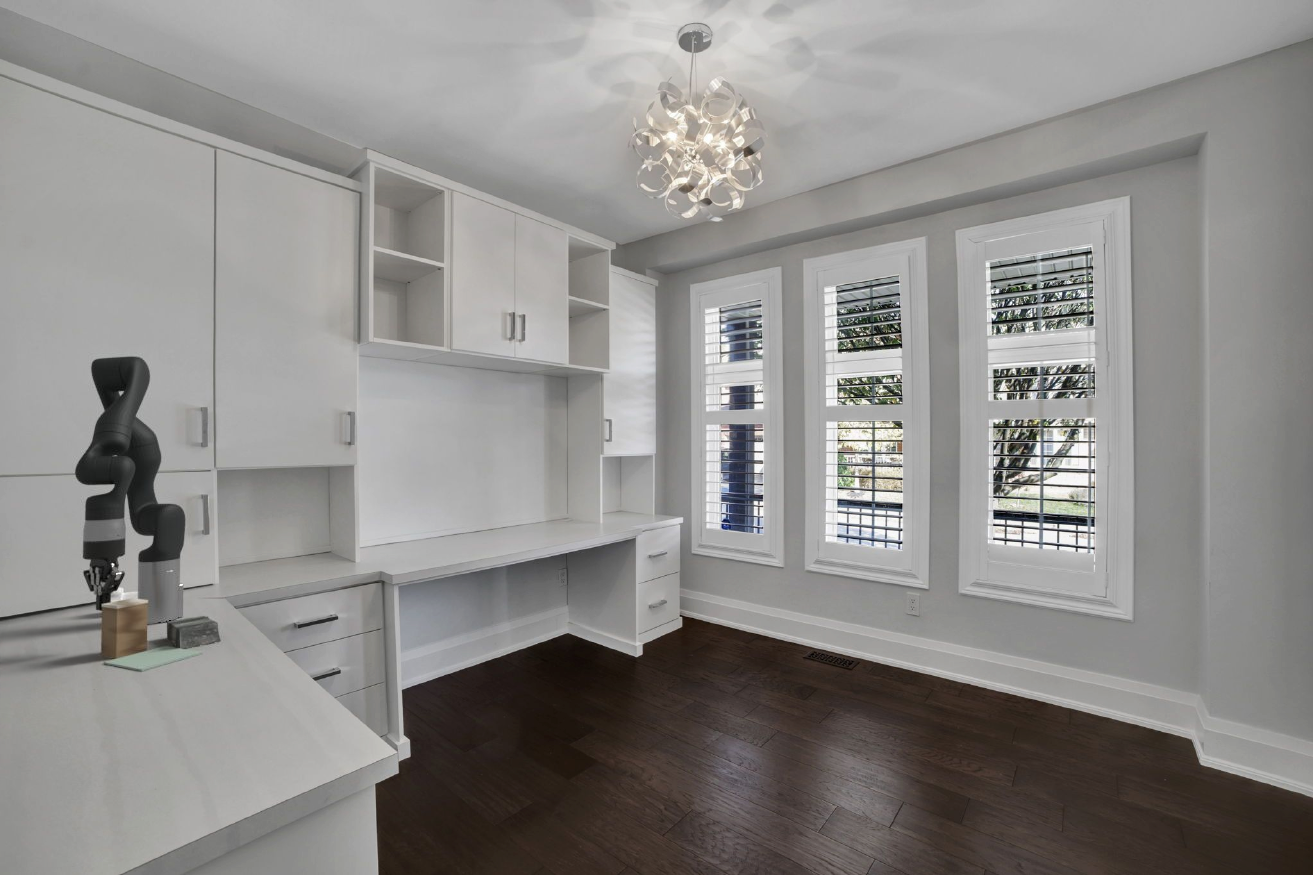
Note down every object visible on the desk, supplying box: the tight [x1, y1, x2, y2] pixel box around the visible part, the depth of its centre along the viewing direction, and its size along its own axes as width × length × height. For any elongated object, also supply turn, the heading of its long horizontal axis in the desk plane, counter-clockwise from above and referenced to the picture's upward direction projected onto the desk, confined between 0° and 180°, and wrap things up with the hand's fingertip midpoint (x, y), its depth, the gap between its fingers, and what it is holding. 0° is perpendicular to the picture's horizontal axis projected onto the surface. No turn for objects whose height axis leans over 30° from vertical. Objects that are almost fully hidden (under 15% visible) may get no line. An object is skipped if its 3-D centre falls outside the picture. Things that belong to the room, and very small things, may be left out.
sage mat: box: [103, 645, 203, 672], centre depth 135 cm, size 12×14×1 cm
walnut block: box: [100, 598, 148, 660], centre depth 139 cm, size 6×6×12 cm
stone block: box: [166, 615, 221, 650], centre depth 149 cm, size 9×14×5 cm, turn 49°
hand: (103, 609), depth 142 cm, fingers closed
